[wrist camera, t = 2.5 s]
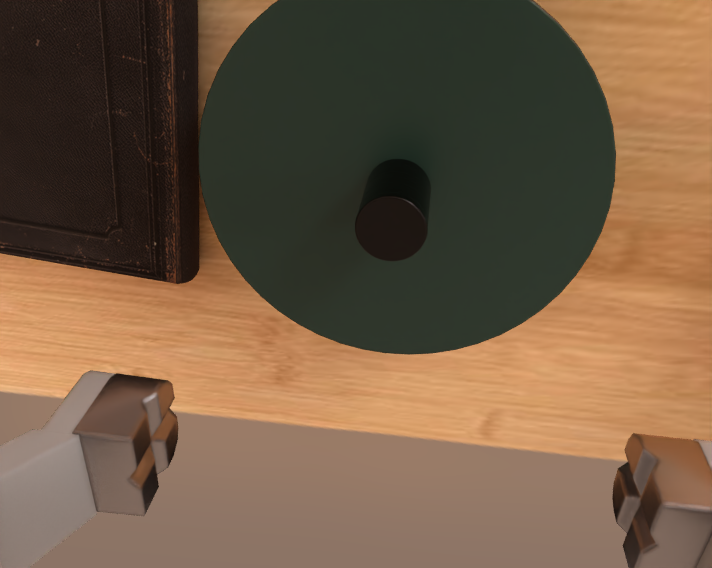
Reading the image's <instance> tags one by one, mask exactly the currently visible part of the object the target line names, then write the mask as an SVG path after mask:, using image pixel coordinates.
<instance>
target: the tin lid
mask: <svg viewBox="0 0 712 568" xmlns="http://www.w3.org/2000/svg"><path fill="white" fill-rule="evenodd" d="M198 152H199V174H200V181H201V187H202V194H203V198H204V201H205V205H206V208H207V212H208V215H209V219H210V221H211V223H212V225H213V228H214V230H215V232H216V235H217V237H218V239H219V241H220V243H221V245H222V246H223V248H224V250H225V252H226V253H227V255H228V257H229V258H230V260H231V262H232V263H233V264H234V266H235V267H236V268H237V270H238V271H239V272H240V273H241V275H242V276H243V277H244V279H245V280H246V281H247V282H248V283H249V284H250V285H251V286H252V287H253V288H254V289H255V290H256V291H257V293H258V294H259V295H260V296H261V297H263V298H264V299H265V300H266V301H267V302H268V303H270V304H271V305H272V306H273V307H274V308H276V309H277V310H278V311H279V312H281V313H282V314H284V315H285V316H287V317H288V318H290V319H291V320H293V321H294V322H296V323H297V324H299V325H301V326H303V327H305V328H307V329H309V330H311V331H313V332H314V333H316V334H318V335H321V336H323V337H326V338H328V339H331V340H333V341H336V342H339V343H341V344H345V345H349V346H352V347H356V348H360V349H364V350H370V351H376V352H382V353H393V354H428V353H437V352H444V351H450V350H456V349H460V348H464V347H467V346H471V345H475V344H478V343H481V342H483V341H486V340H489V339H491V338H494V337H496V336H499V335H501V334H503V333H505V332H507V331H509V330H510V329H512V328H514V327H516V326H518V325H520V324H522V323H523V322H525V321H526V320H528V319H529V318H530V317H532V316H533V315H535V314H536V313H538V312H539V311H541V310H542V309H543V308H544V307H545V306H546V305H548V304H549V303H550V302H551V301H552V300H553V299H554V298H555V297H557V296H558V295H559V294H560V293H561V292H562V291H563V289H564V288H565V287H566V286H567V285H568V284H569V283H570V282H571V280H572V279H573V278H574V277H575V276H576V275H577V273H578V272H579V270H580V269H581V267H582V266H583V264H584V263H585V261H586V260H587V258H588V257H589V255H590V254H591V252H592V250H593V248H594V246H595V244H596V242H597V240H598V238H599V236H600V234H601V232H602V229H603V226H604V223H605V220H606V217H607V214H608V211H609V208H610V204H611V198H612V193H613V188H614V182H615V163H616V150H615V141H614V131H613V124H612V121H611V117H610V113H609V109H608V105H607V101H606V98H605V96H604V93H603V91H602V89H601V86H600V84H599V82H598V79H597V77H596V75H595V72H594V71H593V69H592V67H591V66H590V64H589V63H588V61H587V59H586V58H585V56H584V55H583V53H582V51H581V50H580V48H579V47H578V45H577V44H576V43H575V41H574V40H573V39H572V38H571V37H570V36H569V34H568V33H567V32H566V31H565V30H564V29H563V27H562V26H561V25H560V24H559V23H558V21H557V20H555V19H554V18H553V17H552V16H551V15H550V14H549V13H547V12H546V11H545V10H544V9H543V8H542V7H540V6H539V5H538V4H537V3H536V2H535V1H533V0H278V1H277V2H275V3H274V4H272V5H271V6H270V7H269V8H268V9H267V10H265V11H264V12H263V13H262V14H261V15H260V16H259V17H258V18H257V19H256V20H255V21H253V22H252V23H251V24H250V25H249V27H248V28H247V29H246V30H245V31H244V33H243V34H242V35H241V36H240V38H239V39H238V40H237V41H236V43H235V44H234V45H233V46H232V48H231V49H230V51H229V53H228V54H227V56H226V58H225V59H224V61H223V63H222V64H221V66H220V68H219V70H218V72H217V74H216V76H215V79H214V81H213V84H212V86H211V88H210V91H209V93H208V96H207V100H206V104H205V108H204V112H203V115H202V119H201V127H200V136H199V144H198Z"/></svg>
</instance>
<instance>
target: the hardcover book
mask: <svg viewBox="0 0 712 568" xmlns="http://www.w3.org/2000/svg"><path fill="white" fill-rule="evenodd" d="M0 253H2V254H8V255H14V256H19V257H25V258H31V259H37V260H42V261H48V262H54V263H60V264H66V265H71V266H77V267H83V268H89V269H95V270H100V271H106V272H112V273H118V274H124V275H129V276H135V277H141V278H147V279H153V280H158V281H164V282H170V283H176V284H180V283H186V282H189V281H191V280H192V279H193V278H194V277H195V276H196V275H197V273H198V271H199V152H198V0H0Z"/></svg>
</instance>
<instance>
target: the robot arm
mask: <svg viewBox="0 0 712 568" xmlns="http://www.w3.org/2000/svg"><path fill="white" fill-rule="evenodd" d="M174 398H175V397H174V391H173V386H172V383H171V382H169V381H168V380H161V379H153V378H146V377H139V376H131V375H124V374H113V373H106V372H99V371H88V372H86V373H84V374H83V375H82V376H81V378H80V379H79V380H78V382H77V383H76V384H75V386H74V387H73V388H72V390H71V391H70V392H69V394H68V395H67V396H66V397H65V399H64V400H63V402H62V403H61V404H60V405H59V407H58V408H57V409H56V411H55V412H54V413H53V415H52V416H51V417H50V419H49V420H48V421H47V422H46V424H45V425H44V426H43V428H42V429H41V430H35V429H32V430H30V431H28V432H27V433H24V434H22V435H21V436H19V437H17V438H15V439H13V440H11V441H9V442H7V443H5V444H3V445H1V446H0V568H29V567H31V566H32V565H33V564H34V563H36V562H37V561H38V560H40V559H41V558H42V557H43V556H45V555H46V554H47V553H48V552H50V551H51V550H52V549H53V548H55V547H56V546H57V545H59V544H60V543H61V542H62V541H64V540H65V539H66V538H67V537H69V536H70V535H71V534H72V533H74V532H75V531H76V530H78V529H79V528H80V527H81V526H83V525H84V524H85V523H86V522H88V521H89V520H90V519H92V518H93V517H94V516H95V515H96V514H97V512H108V513H117V514H128V515H137V516H144V515H145V514H146V512H147V510H148V507H149V505H150V503H151V501H152V499H153V497H154V495H155V493H156V491H157V489H158V487H159V486H158V478H157V474H159V473H160V472H162V471H164V470H165V469H166V468H168V466H169V464H170V462H171V460H172V458H173V456H174V452H175V448H176V444H177V440H178V422H177V416H176V415H175V414H174V413H173V412H172V411H171V409H170V406H171V404H172V402H173V400H174ZM625 453H626V457H627V460H628V462H627V463H626V464H624V465H623V466H621V467H620V468H618V470H617V474H616V478H615V481H614V487H613V507H614V513H615V518H616V522H617V524H618V525H619V526H620V527H621V528H622V529H623V530H624V531H625V532H626V533H627V536H626V538H625V541H624V544H623V548H624V552H625V555H626V559H627V563H628V567H629V568H712V441H707V440H697V439H694V440H691V439H682V438H673V437H663V436H654V435H645V434H635V433H633V434H632V435H631V437H630V438H629V439H628V442H627V444H626V447H625Z"/></svg>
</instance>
